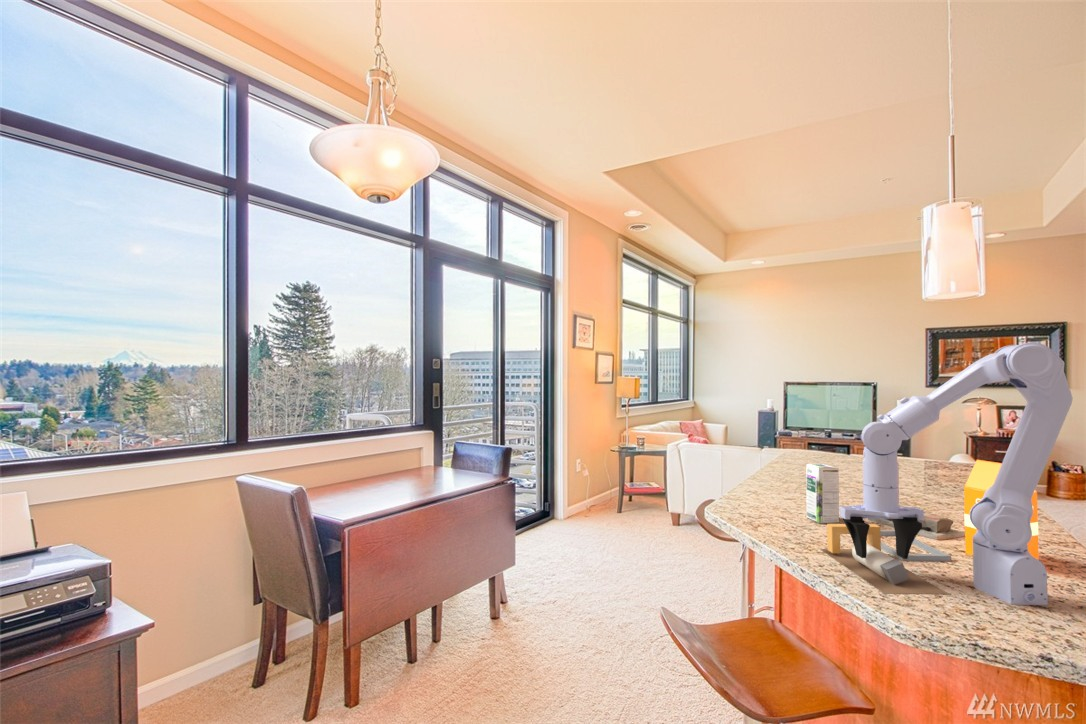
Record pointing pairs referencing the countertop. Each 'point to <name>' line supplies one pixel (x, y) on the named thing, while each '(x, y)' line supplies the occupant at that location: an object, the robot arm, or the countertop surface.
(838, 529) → the yellow bridge block
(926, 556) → the tray
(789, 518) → the countertop surface
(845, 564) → the board
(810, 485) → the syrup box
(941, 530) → the packaged product
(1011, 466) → the robot arm
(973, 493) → the orange juice
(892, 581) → the white cylinder grey cap
